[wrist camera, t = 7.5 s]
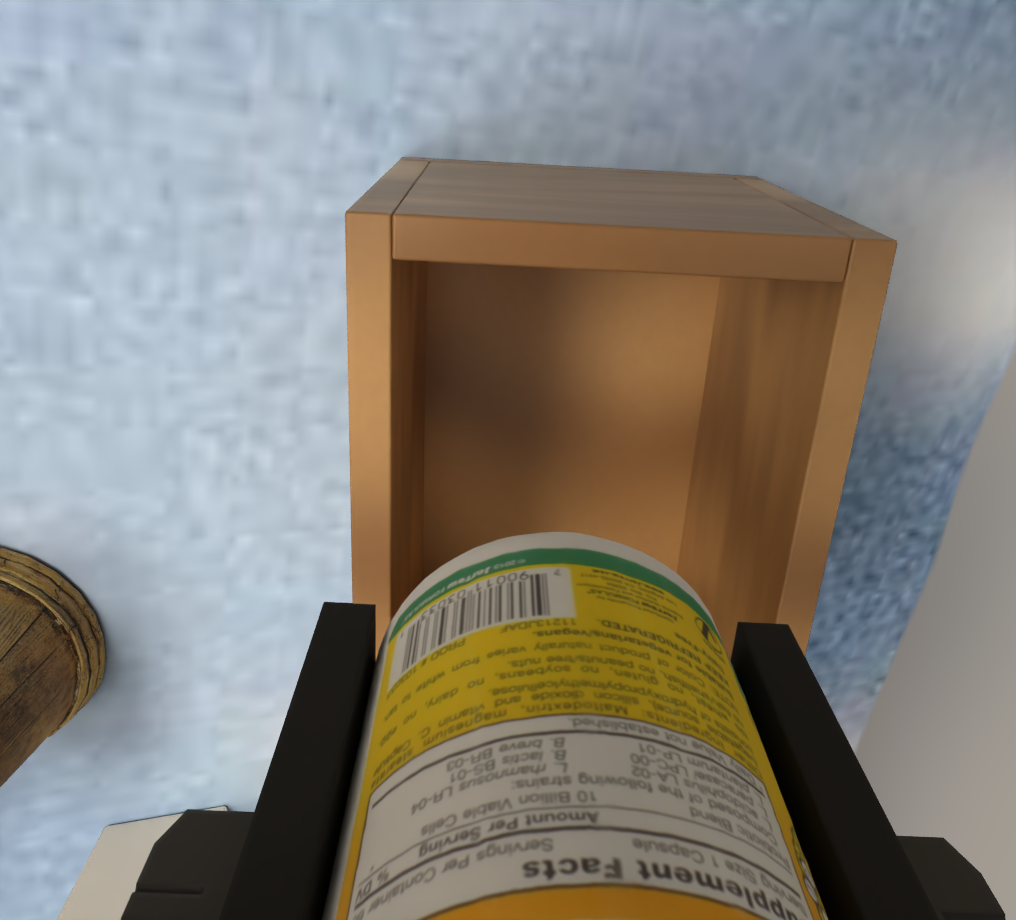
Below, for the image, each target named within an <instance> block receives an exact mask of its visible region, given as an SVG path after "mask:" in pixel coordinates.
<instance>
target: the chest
mask: <svg viewBox="0 0 1016 920" xmlns="http://www.w3.org/2000/svg"><path fill="white" fill-rule="evenodd" d="M345 233H346V285H347V337H348V389H349V442H350V494H351V546H352V598H353V603H356V604H376V659H377V655H378V651H379V648H380V645H381V642H382V640H383V637H384V634H385V632H386V630H387V628H388V626H389V624H390V622H391V620H392V619H393V617H394V616H395V614H396V613H397V611H398V610H399V608H400V607H401V605H402V604H403V602H404V601H405V600H406V599H407V597H408V596H409V595H410V594H411V593H412V591H413V590H414V589H415V588H416V587H417V586H418V585H419V584H420V583H421V582H422V581H423V580H424V579H425V578H426V577H427V576H429V575H430V574H431V573H433V572H434V571H435V570H437V569H438V568H439V567H441V566H442V565H444V564H446V563H447V562H449V561H451V560H452V559H454V558H456V557H458V556H459V555H461V554H463V553H465V552H467V551H469V550H471V549H473V548H475V547H478V546H481V545H484V544H487V543H490V542H492V541H495V540H498V539H502V538H507V537H512V536H517V535H525V534H533V533H541V532H575V533H581V534H587V535H591V536H596V537H600V538H603V539H607V540H611V541H615V542H618V543H621V544H624V545H626V546H629V547H632V548H634V549H636V550H639V551H641V552H644V553H645V554H647V555H649V556H651V557H652V558H654V559H656V560H658V561H660V562H661V563H663V564H664V565H666V566H667V567H669V568H670V569H672V570H673V571H675V572H676V573H677V574H678V575H679V576H680V577H681V578H682V579H684V580H685V581H686V582H687V583H688V584H689V585H690V587H691V588H692V589H693V590H694V591H695V592H696V593H697V594H698V596H699V597H700V599H701V600H702V602H703V603H704V605H705V606H706V608H707V609H708V611H709V612H710V614H711V616H712V619H713V621H714V623H715V626H716V628H717V630H718V632H719V635H720V637H721V640H722V643H723V645H724V648H725V651H726V653H727V655H728V658H729V660H731V655H732V650H733V645H734V639H735V634H736V629H737V624H738V622H752V623H773V624H788V625H789V627H790V629H791V631H792V633H793V635H794V637H795V638H796V640H797V642H798V644H799V646H800V648H801V650H802V652H803V654H804V656H805V654H806V650H807V645H808V641H809V637H810V632H811V628H812V623H813V619H814V614H815V610H816V605H817V601H818V596H819V592H820V587H821V583H822V579H823V574H824V570H825V565H826V561H827V556H828V552H829V547H830V543H831V538H832V534H833V529H834V525H835V520H836V516H837V512H838V507H839V503H840V498H841V494H842V489H843V485H844V480H845V476H846V471H847V467H848V462H849V458H850V454H851V449H852V445H853V440H854V436H855V431H856V427H857V422H858V418H859V413H860V409H861V404H862V400H863V396H864V391H865V387H866V382H867V378H868V373H869V369H870V364H871V360H872V355H873V351H874V346H875V342H876V337H877V333H878V329H879V324H880V320H881V315H882V311H883V306H884V302H885V297H886V293H887V288H888V284H889V279H890V275H891V271H892V266H893V262H894V257H895V253H896V248H897V241H896V240H894V239H892V238H889V237H887V236H885V235H883V234H881V233H879V232H876V231H874V230H872V229H870V228H868V227H865V226H863V225H861V224H859V223H857V222H854V221H852V220H850V219H848V218H846V217H843V216H841V215H839V214H837V213H835V212H832V211H830V210H828V209H826V208H824V207H821V206H819V205H817V204H815V203H813V202H810V201H808V200H806V199H804V198H802V197H799V196H797V195H795V194H793V193H791V192H788V191H786V190H784V189H782V188H780V187H777V186H775V185H773V184H771V183H769V182H766V181H764V180H762V179H760V178H758V177H756V176H739V175H721V174H703V173H685V172H666V171H648V170H630V169H612V168H593V167H575V166H557V165H539V164H521V163H502V162H484V161H466V160H448V159H429V158H411V157H402V158H401V159H400V160H399V161H398V162H397V163H396V164H395V165H394V166H393V167H392V168H391V169H390V170H389V171H388V172H387V173H386V174H385V175H384V176H382V177H381V178H380V179H379V180H378V181H377V182H376V183H375V184H374V185H373V186H372V187H371V188H370V189H369V190H368V191H367V192H366V193H365V194H364V195H363V196H362V197H361V198H360V199H359V200H358V201H357V202H356V203H355V204H354V205H352V206H351V207H350V208H349V209H348V210H347V211H346V213H345Z"/></svg>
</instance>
